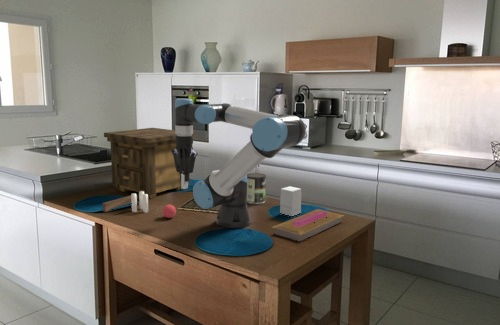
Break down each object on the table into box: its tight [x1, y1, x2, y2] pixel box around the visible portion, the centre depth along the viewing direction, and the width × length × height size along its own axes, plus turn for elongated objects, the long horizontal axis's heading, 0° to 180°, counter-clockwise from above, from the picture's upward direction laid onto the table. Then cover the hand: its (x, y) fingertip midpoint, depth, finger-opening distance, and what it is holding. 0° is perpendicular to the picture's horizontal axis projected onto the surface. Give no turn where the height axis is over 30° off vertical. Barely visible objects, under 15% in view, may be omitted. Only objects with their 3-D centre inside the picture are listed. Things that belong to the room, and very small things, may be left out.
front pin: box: [142, 194, 149, 214], centre depth 205 cm, size 2×2×8 cm
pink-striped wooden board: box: [271, 208, 345, 242], centre depth 188 cm, size 35×14×6 cm, turn 139°
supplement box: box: [279, 185, 302, 217], centre depth 205 cm, size 7×7×13 cm
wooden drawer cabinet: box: [103, 127, 196, 199], centre depth 244 cm, size 35×35×33 cm
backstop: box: [102, 194, 139, 213], centre depth 213 cm, size 2×20×4 cm, turn 148°
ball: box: [162, 204, 177, 219], centre depth 198 cm, size 6×6×6 cm
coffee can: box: [247, 172, 267, 205], centre depth 226 cm, size 10×10×14 cm
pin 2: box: [138, 191, 144, 211], centre depth 210 cm, size 2×2×8 cm
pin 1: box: [131, 192, 138, 213], centre depth 206 cm, size 2×2×8 cm
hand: (184, 188), depth 190 cm, fingers closed
